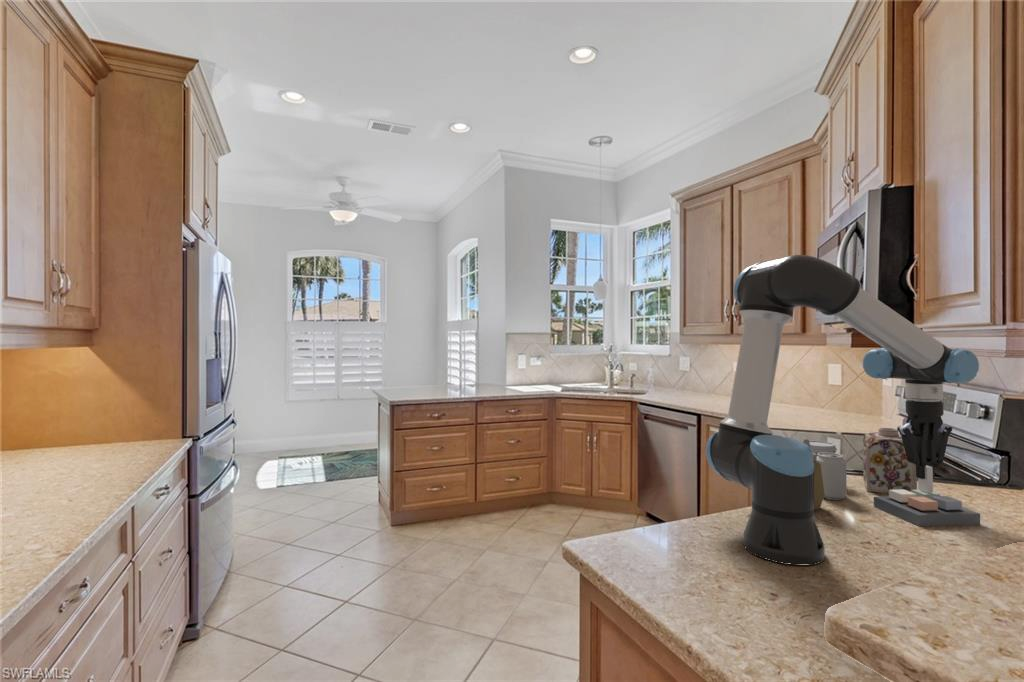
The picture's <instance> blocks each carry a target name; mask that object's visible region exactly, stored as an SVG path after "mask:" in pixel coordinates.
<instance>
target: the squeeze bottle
mask: <svg viewBox="0 0 1024 682" xmlns="http://www.w3.org/2000/svg"><path fill="white" fill-rule="evenodd" d="M809 441H810V439H808V438H804V439H803V440H802V442H803V443H805V444H806V445H807V446H809V448H810V449H811V446H810V442H809ZM811 451H812V450H811ZM812 453H813V452H812ZM816 460H817V454H816V453H813V463H814V466H815V467H814V511H815V510H817V511H818V510H819V509H820V508H821V507H822V503H823V501H824V499H825V498H824V496H825V494H824V486H823V478H822V470H821V464H820V463H819V462H817V461H816Z"/></svg>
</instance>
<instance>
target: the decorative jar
mask: <svg viewBox="0 0 1024 682" xmlns="http://www.w3.org/2000/svg"><path fill="white" fill-rule="evenodd" d="M862 442H863V446H862V448H863V449H862V451H863V452H862V453H863V454H862V455H863V456H862V464H863V467H862V470H863V474H862V475H863V485H864V487H865V489H866V491H867V492H872V493H879V494H888V495H889V490H898V489H904V490H907V491H910V492H911V490H918V478H917V477H916V465H915V464H913V463H910V462H908V461H907V457H906V453H905V449H904V445H903V441H902V437H901V434H900V433H899V431H898V430H897V428H892V427H879V428H878V432H867V433H865V434H864V435H863V440H862Z"/></svg>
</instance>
